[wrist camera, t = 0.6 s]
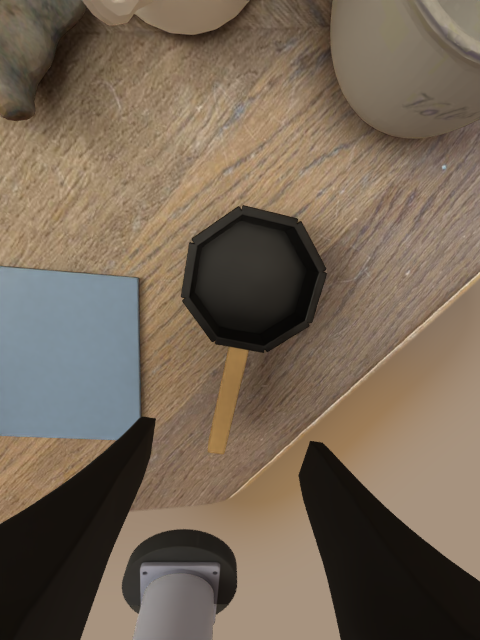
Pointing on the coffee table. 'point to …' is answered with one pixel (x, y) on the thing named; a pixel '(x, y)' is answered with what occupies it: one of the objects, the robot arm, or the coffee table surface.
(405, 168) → the coffee table surface
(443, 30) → the teacup
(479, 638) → the robot arm
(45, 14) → the ginger root
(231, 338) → the pan
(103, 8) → the mug
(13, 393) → the napkin
